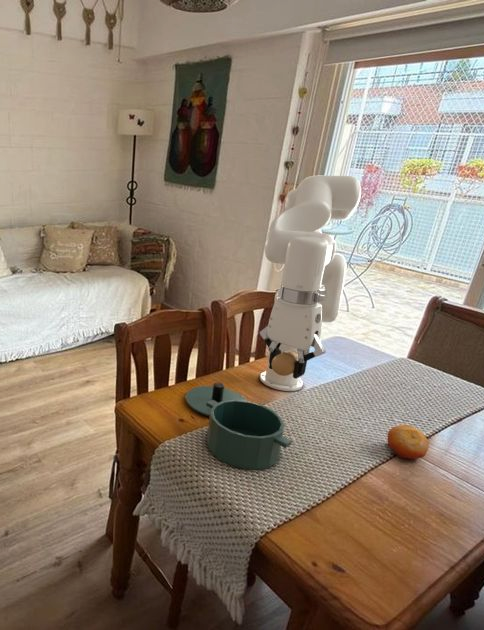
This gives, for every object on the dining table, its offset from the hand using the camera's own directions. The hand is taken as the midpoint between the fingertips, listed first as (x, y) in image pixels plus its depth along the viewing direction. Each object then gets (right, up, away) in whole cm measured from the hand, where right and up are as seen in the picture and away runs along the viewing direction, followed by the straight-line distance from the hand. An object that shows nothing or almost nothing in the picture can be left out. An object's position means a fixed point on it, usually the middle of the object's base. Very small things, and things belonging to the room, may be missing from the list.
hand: (285, 371), depth 100 cm
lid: (-7, -13, +27) cm, 31 cm away
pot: (-7, -20, +8) cm, 23 cm away
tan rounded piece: (0, 0, 0) cm, 0 cm away
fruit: (+31, -21, +6) cm, 38 cm away
